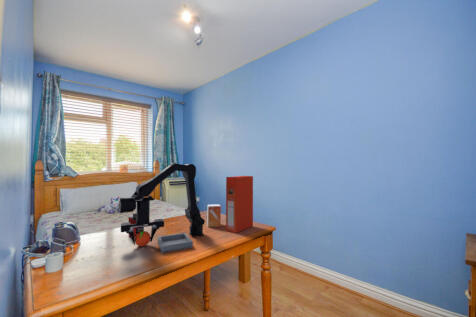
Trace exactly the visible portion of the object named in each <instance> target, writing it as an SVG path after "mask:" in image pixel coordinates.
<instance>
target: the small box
mask: <svg viewBox="0 0 476 317" xmlns="http://www.w3.org/2000/svg"><path fill="white" fill-rule="evenodd" d="M206 209H207V210H206V216H207V217H206V220H207V221H206V225H207V228H210V227H212V228H213V227H215V228H217V227H221V221H222V220H221V218H222V217H221V213H222V206H221V205H220V204H219V203H216V204H207V208H206Z"/></svg>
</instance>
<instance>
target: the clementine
mask: <svg viewBox="0 0 476 317" xmlns="http://www.w3.org/2000/svg"><path fill="white" fill-rule="evenodd" d="M150 238H151V233H149V232H148V231H146V230H144V231H141V232H139V233H138V234H137V235H136V237H134V239H135V244H136V246H139V247H145V246H148V244H149V243H151V242H150Z"/></svg>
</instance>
